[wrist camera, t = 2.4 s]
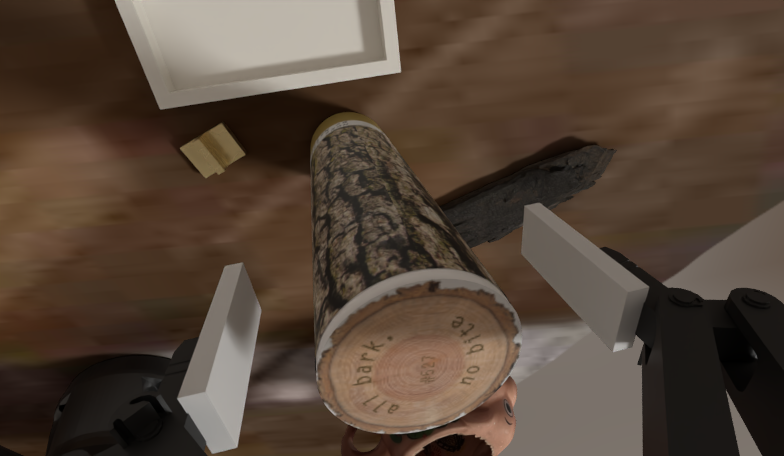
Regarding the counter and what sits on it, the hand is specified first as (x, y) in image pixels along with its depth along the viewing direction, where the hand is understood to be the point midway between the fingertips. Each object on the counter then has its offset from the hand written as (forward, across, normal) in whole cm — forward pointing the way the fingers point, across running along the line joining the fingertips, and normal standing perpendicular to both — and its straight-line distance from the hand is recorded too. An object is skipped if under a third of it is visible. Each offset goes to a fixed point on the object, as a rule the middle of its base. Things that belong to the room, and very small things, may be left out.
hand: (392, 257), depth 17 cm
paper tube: (+19, 0, 0) cm, 19 cm away
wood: (+20, +16, -9) cm, 27 cm away
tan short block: (+19, -12, +2) cm, 22 cm away
